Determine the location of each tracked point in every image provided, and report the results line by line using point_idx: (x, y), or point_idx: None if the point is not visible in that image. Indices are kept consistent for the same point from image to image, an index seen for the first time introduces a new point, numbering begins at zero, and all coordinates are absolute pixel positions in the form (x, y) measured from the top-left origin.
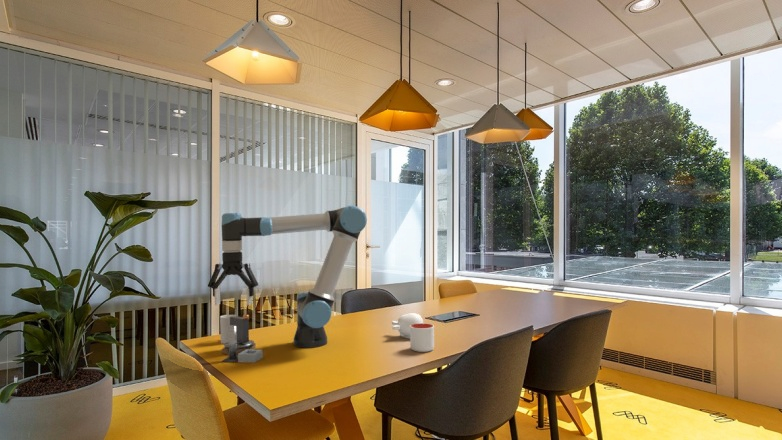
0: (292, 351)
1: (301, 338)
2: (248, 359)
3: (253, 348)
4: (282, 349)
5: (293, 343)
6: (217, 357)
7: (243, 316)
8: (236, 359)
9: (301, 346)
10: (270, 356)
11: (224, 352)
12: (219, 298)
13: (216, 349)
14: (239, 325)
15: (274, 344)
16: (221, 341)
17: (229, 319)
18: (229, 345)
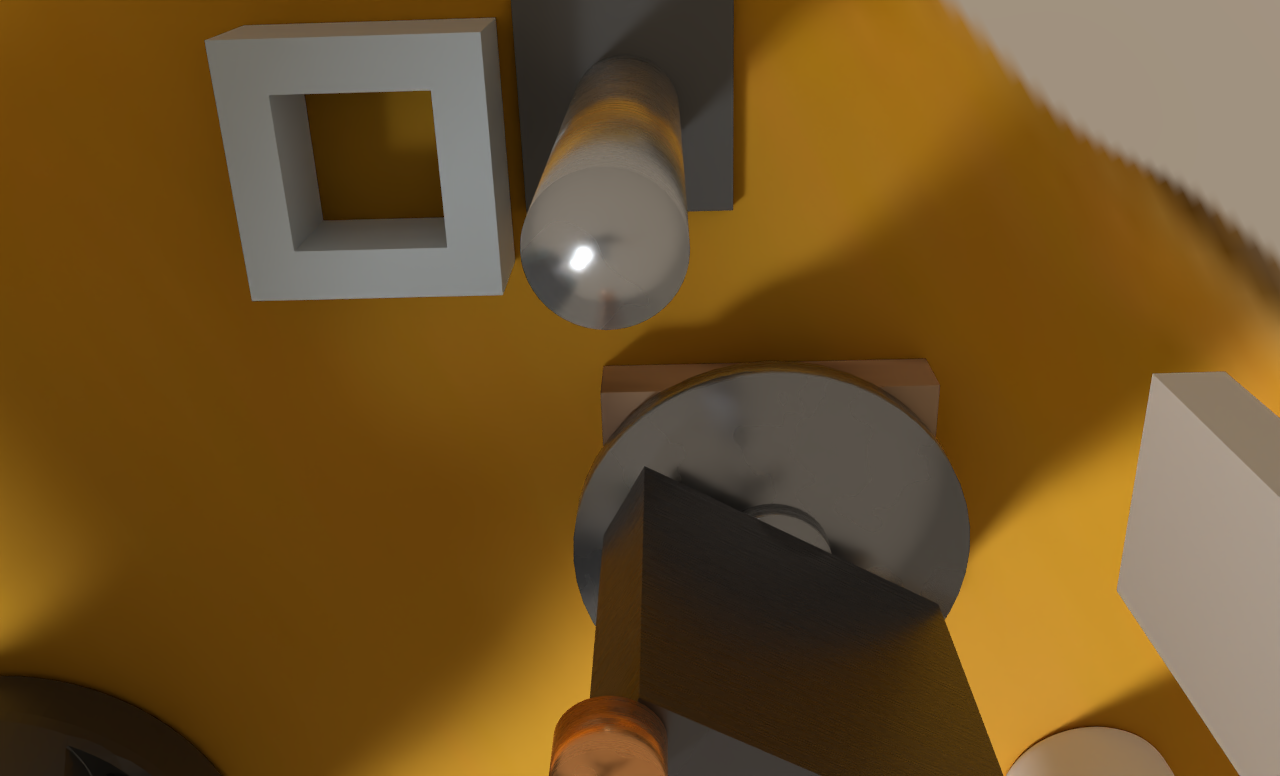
0: (63, 535)
1: (3, 765)
2: (328, 28)
3: None
4: (237, 595)
5: (206, 773)
6: (903, 183)
7: (634, 744)
8: (553, 82)
9: (42, 685)
10: (205, 312)
11: (896, 364)
12: (1217, 686)
13: (1092, 510)
14: (746, 662)
15: (456, 761)
16: (1153, 754)
17: None
18: (644, 94)
